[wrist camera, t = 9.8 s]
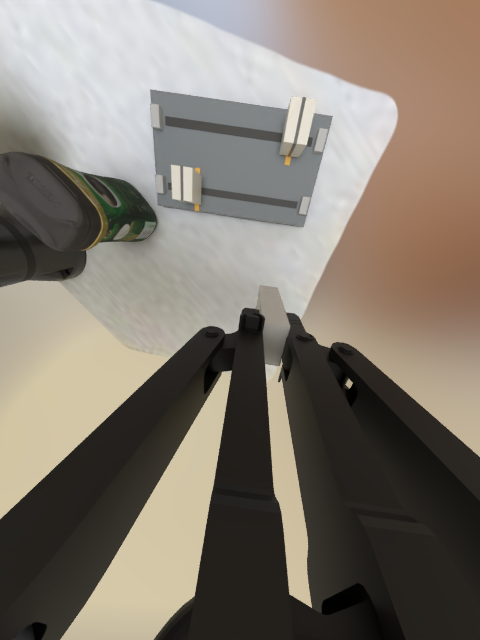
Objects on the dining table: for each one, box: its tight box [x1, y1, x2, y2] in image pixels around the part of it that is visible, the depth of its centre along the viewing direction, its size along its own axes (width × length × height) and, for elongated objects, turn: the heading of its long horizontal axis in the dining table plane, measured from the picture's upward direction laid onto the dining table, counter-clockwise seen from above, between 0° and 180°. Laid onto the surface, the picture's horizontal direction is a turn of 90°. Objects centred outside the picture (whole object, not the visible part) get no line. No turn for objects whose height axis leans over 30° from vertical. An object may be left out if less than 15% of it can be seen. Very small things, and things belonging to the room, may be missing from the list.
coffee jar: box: [0, 152, 156, 252], centre depth 27 cm, size 10×8×19 cm
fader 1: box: [171, 165, 202, 205], centre depth 29 cm, size 3×4×5 cm
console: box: [150, 90, 333, 227], centre depth 30 cm, size 26×14×3 cm, turn 83°
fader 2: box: [279, 97, 317, 157], centre depth 25 cm, size 3×4×5 cm
